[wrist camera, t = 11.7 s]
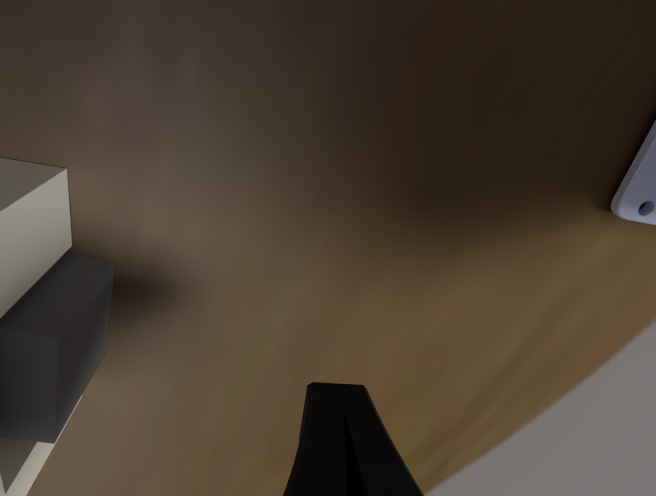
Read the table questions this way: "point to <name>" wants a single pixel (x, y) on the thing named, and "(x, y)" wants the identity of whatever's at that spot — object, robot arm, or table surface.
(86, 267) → the plug
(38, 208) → the socket box
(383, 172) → the table surface
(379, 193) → the table surface
